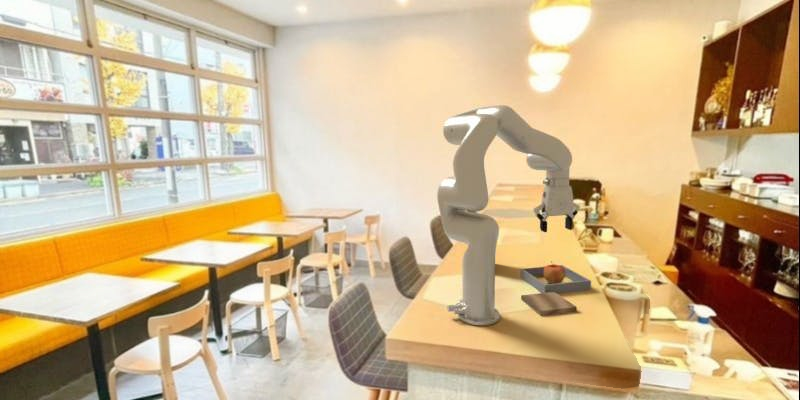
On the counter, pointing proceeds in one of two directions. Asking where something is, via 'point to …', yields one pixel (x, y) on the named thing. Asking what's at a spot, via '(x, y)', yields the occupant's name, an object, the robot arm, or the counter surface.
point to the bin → (576, 286)
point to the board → (548, 303)
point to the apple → (554, 273)
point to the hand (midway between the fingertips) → (556, 230)
